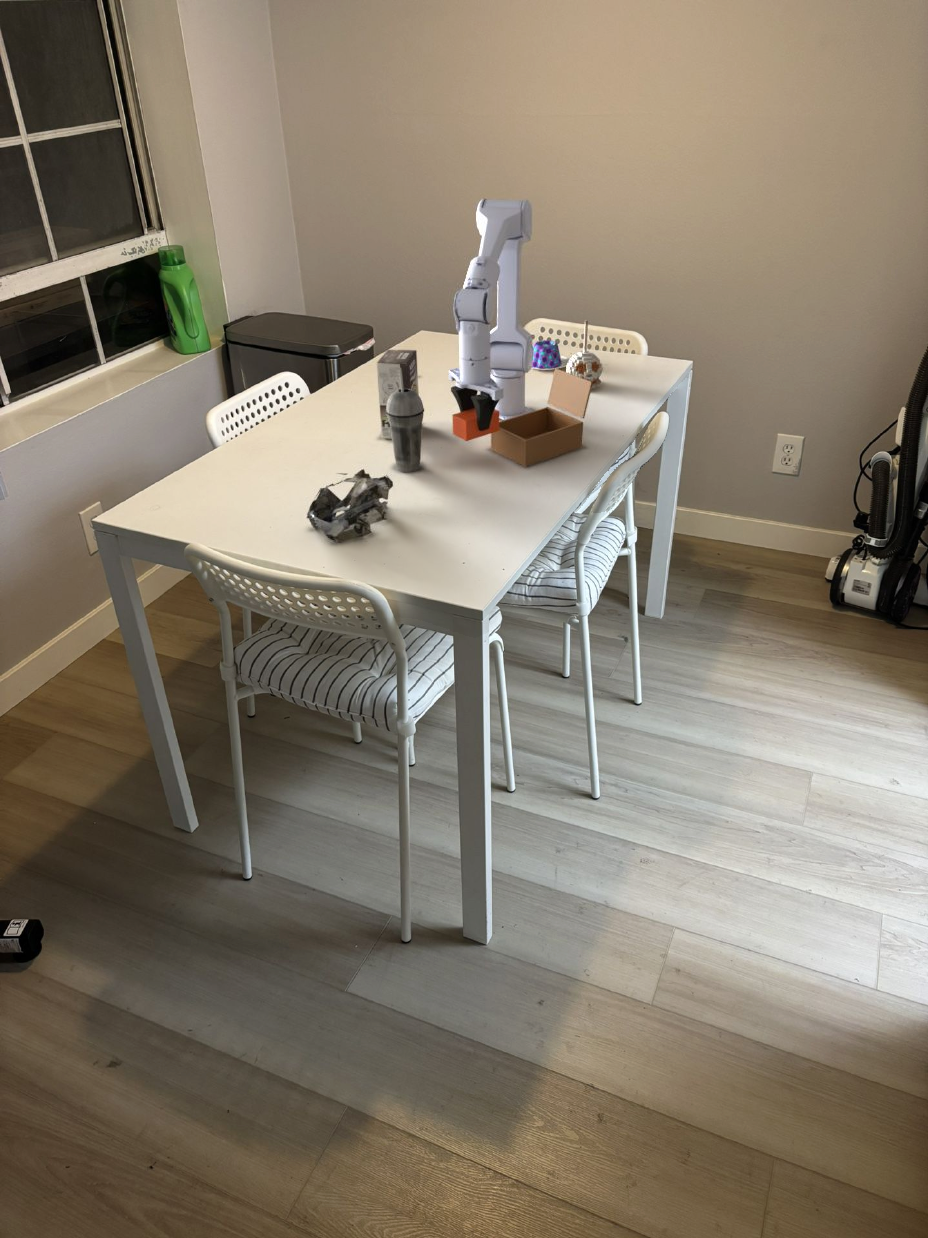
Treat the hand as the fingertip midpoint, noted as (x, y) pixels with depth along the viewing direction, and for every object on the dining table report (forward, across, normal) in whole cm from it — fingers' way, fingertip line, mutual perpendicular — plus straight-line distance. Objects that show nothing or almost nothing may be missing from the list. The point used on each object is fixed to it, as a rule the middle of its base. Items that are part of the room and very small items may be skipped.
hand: (476, 425), depth 183 cm
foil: (+7, +8, -33) cm, 35 cm away
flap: (-2, +3, +21) cm, 21 cm away
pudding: (+8, -35, +48) cm, 60 cm away
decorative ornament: (+8, -18, +45) cm, 49 cm away
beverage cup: (+8, -6, -12) cm, 15 cm away
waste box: (+7, +3, +13) cm, 15 cm away
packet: (+1, 0, 0) cm, 1 cm away
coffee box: (+8, -22, -3) cm, 24 cm away
